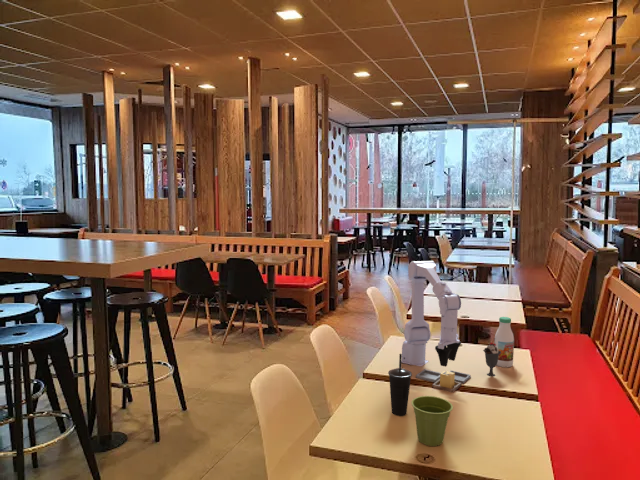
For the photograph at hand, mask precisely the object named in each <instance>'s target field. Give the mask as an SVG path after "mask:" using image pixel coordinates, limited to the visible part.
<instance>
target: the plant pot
mask: <svg viewBox="0 0 640 480" xmlns="http://www.w3.org/2000/svg"><path fill="white" fill-rule="evenodd" d="M411 406H412V407H413V413H414V418H415V424H416V434H417V440H418V442H419V443H421V444H423V445H425V446H428V445H429V446H428V447H437V445H438V446H440V445H442V444H443V442H444V437H445V433H446V430H447V429H446V428H447V426H448V425H447V424H448V421H449V418H450V415H451V411H453V409H454V406H453V404H452V402H450V401H449V400H447V399H446V398H445V399H444V398H442V397H438V396H432V395H421V396H417V397H415V398H413V399H412V400H411Z"/></svg>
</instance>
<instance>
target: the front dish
mask: <svg viewBox="0 0 640 480" xmlns="http://www.w3.org/2000/svg"><path fill="white" fill-rule="evenodd" d="M431 386H432V387H431V388H434V389H438V390H442V391H445V392H450V393H454V392H455V391H457V390H458V389H459V388H460V387H462V384H461V383H460V382H456V381H454V387H453V388H447V387H443V386H440V379H439V380H438V381H436V382H433V383H432V385H431Z"/></svg>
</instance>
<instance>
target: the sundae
mask: <svg viewBox="0 0 640 480" xmlns="http://www.w3.org/2000/svg"><path fill="white" fill-rule="evenodd" d="M494 342H495V337H493V340H492V342H490V343H489V344H488V345H487V346H486V347H485V348H484V349H483V350H482V351H483V352H484V356H485V364H486V365H487V366H488V368H489V371H488V373H486V376H488V377H496V374H494V372H493V371H494V368H495V367H496V366H497V362H498V357H499V354H501V351H499V350H498V348H497V347H496V344H494Z"/></svg>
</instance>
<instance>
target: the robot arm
mask: <svg viewBox="0 0 640 480" xmlns="http://www.w3.org/2000/svg"><path fill="white" fill-rule="evenodd" d="M407 271H408V280H409V281H410V282H411V319H410V320H408V321H407V322H406V323H405V325H404V326H405V327H404V331H403V336H404V339H405V340H404V341H403V342H402V346H401V354H402V358H401V364H402V363H403V364H407V365H411V366H417V367H423V366H425V365H426V364H427V363H430V361H429V360H426V354H427V353H426V349H427V348H426V346H427V344H428V342H429V341H430V339H431V335H432V334H431V329H430V324H429V323H428V322H427V321H426V320H425V319H424V318H425V314H424V313H425V309H424V308H425V305H424V304H425V303H424V302H425V301H424V300H425V299H424V298H425V296H424V295H425V292H424V291H425V289H424V286H425V284H424V283H425V282H426V281H428V282H429V283H430V284H431V285H432V289H431V290H432V293H434V295H435V297H436V298H437V300H438V307H439V314H440V315H441V316H440V318H441V319H440V337H439V342H438V343H437V345H436V346H435V348H434V350H435V352H436V354H437V357H438V359H439V364H440V366H441V367H445V368H446V367H447V366H448V362H449V361H452V362H453V361H455V360H456V358H457V352H458V351H459V348H460V346H461V344H462V342H461V341H460V340H461V339H459V334H458V315H459V314H458V311H459V310H460V309H461V307H462V299H461V297H460V295H459V294H458V293H455V292H452V290H451V289H450V287H449V286H448V284H447V282H445V281H443V280H441V279H440V277H439V274H438V273H437V265H436V263H435V261H434V260H421V261H420V260H417V261H415V260H411V262H410V263H409V264H408V269H407Z"/></svg>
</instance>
